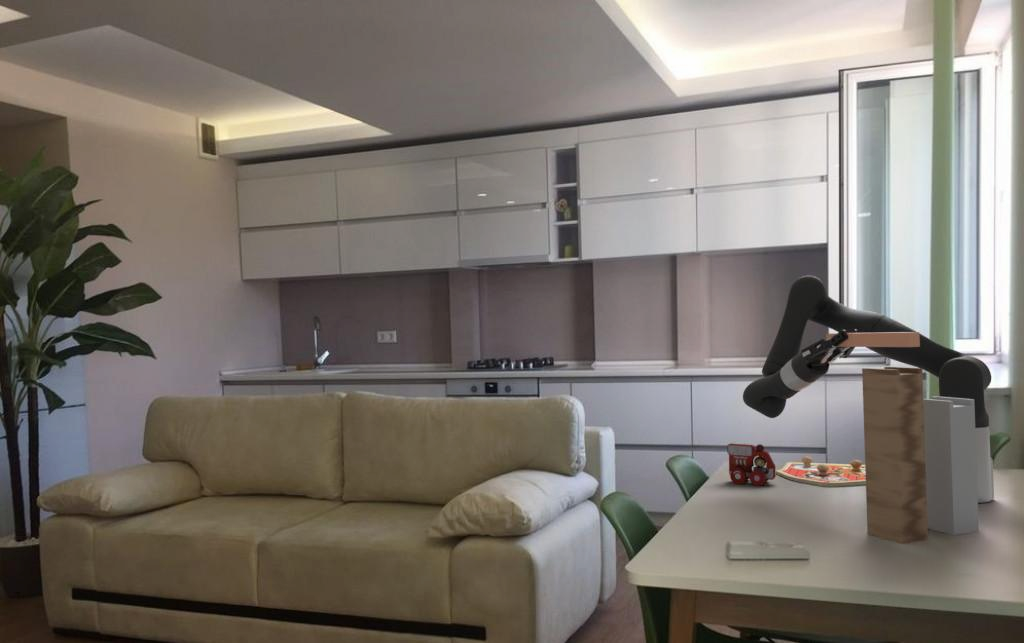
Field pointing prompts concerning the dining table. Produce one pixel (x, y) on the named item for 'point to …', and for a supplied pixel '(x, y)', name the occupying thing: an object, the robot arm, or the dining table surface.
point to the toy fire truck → (750, 464)
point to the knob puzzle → (825, 473)
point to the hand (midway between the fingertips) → (851, 333)
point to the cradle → (951, 465)
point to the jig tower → (895, 453)
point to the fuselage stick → (880, 339)
